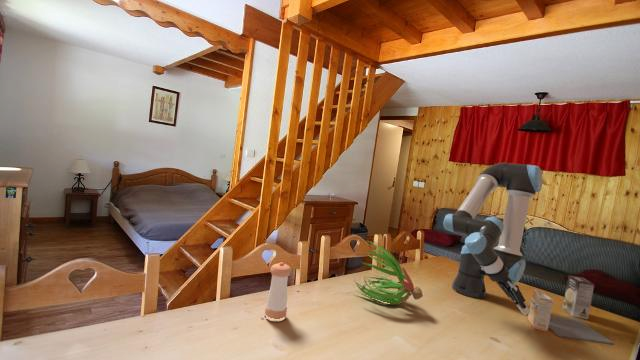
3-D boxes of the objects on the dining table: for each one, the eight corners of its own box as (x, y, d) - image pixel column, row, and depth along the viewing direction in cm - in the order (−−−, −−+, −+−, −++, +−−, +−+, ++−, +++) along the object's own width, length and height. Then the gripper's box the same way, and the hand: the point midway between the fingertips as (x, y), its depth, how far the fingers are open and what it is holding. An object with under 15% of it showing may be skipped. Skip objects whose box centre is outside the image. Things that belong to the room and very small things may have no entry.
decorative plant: (415, 336, 121) (339, 311, 131) (421, 298, 143) (355, 280, 153) (427, 274, 114) (345, 252, 124) (431, 245, 136) (362, 229, 146)
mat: (558, 336, 123) (558, 334, 123) (530, 313, 141) (530, 312, 141) (613, 344, 122) (613, 342, 122) (578, 320, 140) (578, 319, 140)
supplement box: (526, 319, 135) (532, 288, 134) (540, 322, 133) (545, 291, 132) (534, 329, 127) (539, 296, 126) (548, 332, 125) (553, 299, 124)
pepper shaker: (289, 316, 113) (296, 262, 112) (278, 324, 106) (285, 267, 105) (272, 309, 116) (278, 257, 115) (260, 317, 109) (266, 262, 108)
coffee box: (561, 307, 152) (567, 274, 151) (576, 310, 151) (583, 277, 150) (572, 316, 144) (578, 281, 142) (589, 319, 142) (595, 284, 141)
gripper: (477, 268, 132) (508, 310, 135) (497, 280, 119) (531, 327, 122) (491, 256, 133) (522, 299, 136) (513, 267, 120) (546, 314, 123)
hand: (526, 312), depth 129 cm, fingers closed
